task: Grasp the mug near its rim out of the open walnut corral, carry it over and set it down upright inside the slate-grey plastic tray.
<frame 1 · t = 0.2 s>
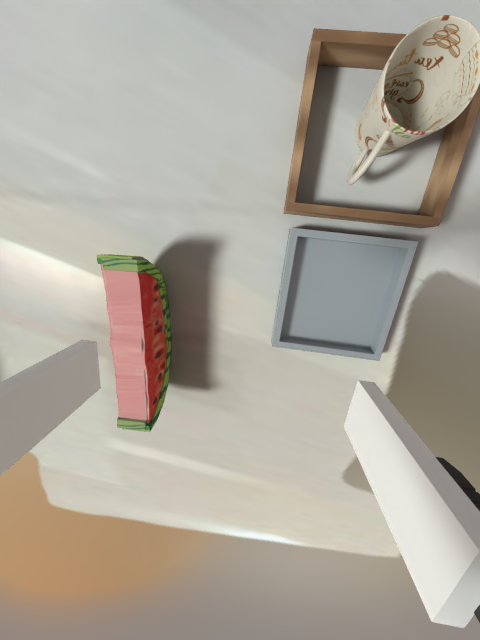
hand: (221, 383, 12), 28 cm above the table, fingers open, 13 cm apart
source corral: (368, 147, 31), on the table
fruit slice: (156, 329, 42), on the table
mug: (368, 147, 31), resting in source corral
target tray: (333, 295, 37), on the table
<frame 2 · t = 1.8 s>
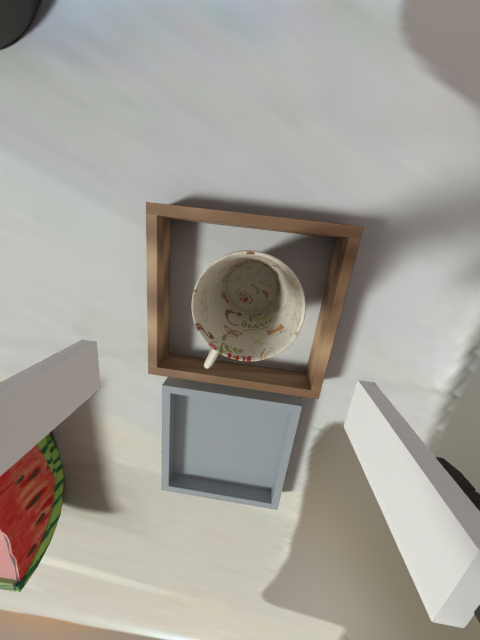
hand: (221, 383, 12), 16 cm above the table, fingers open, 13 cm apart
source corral: (243, 302, 27), on the table
fruit slice: (46, 456, 38), on the table
mug: (243, 301, 27), resting in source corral
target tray: (227, 437, 33), on the table
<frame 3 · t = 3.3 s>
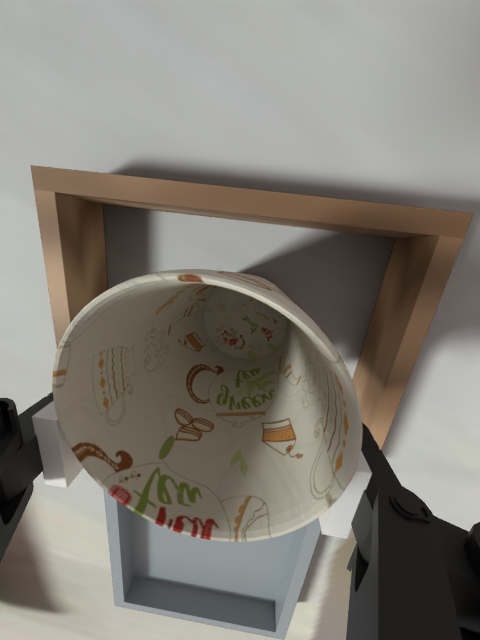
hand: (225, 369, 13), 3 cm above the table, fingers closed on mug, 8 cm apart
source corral: (231, 343, 16), on the table
mug: (231, 343, 16), resting in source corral, touching gripper
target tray: (210, 532, 23), on the table
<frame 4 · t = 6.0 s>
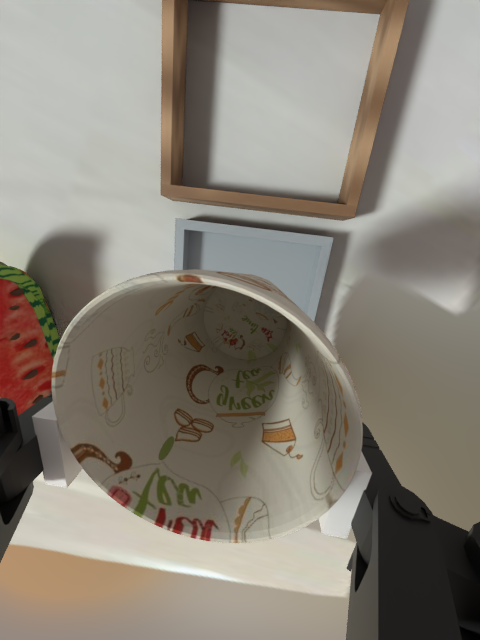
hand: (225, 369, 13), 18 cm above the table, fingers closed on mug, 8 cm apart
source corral: (268, 114, 24), on the table
fruit slice: (44, 341, 35), on the table
mug: (231, 343, 16), point 14 cm above the table, touching gripper
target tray: (244, 303, 30), on the table
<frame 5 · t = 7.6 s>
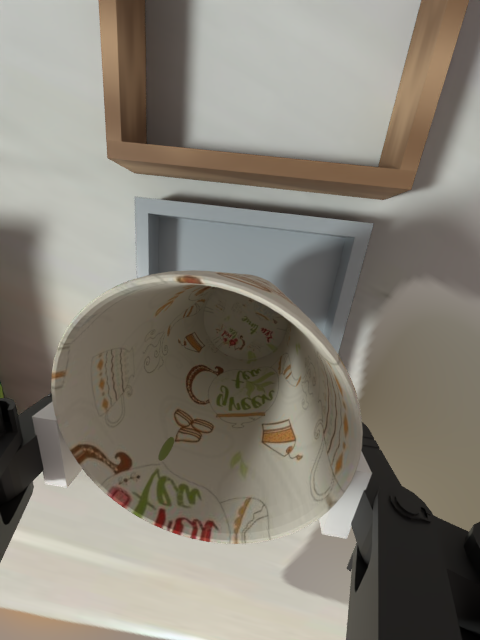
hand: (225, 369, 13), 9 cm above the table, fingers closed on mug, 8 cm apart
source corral: (274, 32, 15), on the table
mug: (231, 344, 16), point 6 cm above the table, touching gripper
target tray: (239, 319, 22), on the table
when the fingers open (5 cm above the table, at t = 8.8 s): mug drops 2 cm, resting on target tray.
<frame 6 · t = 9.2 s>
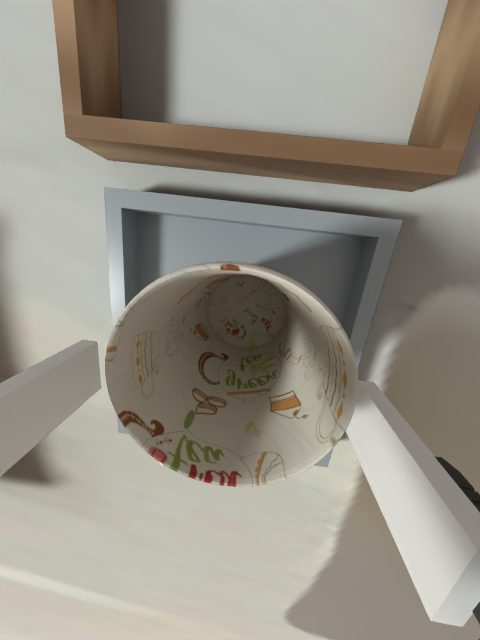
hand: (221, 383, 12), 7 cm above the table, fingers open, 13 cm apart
mug: (232, 334, 18), resting on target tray
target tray: (235, 334, 18), on the table
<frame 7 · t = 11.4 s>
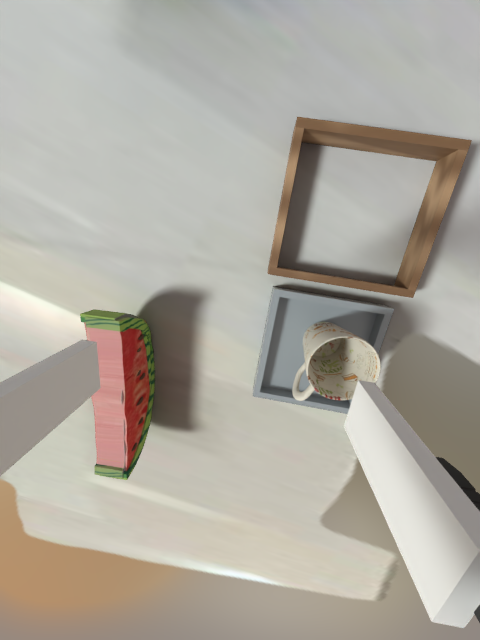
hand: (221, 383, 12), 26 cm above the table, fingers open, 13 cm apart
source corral: (349, 218, 32), on the table
fruit slice: (140, 371, 42), on the table
mug: (313, 349, 38), resting on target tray
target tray: (314, 349, 38), on the table
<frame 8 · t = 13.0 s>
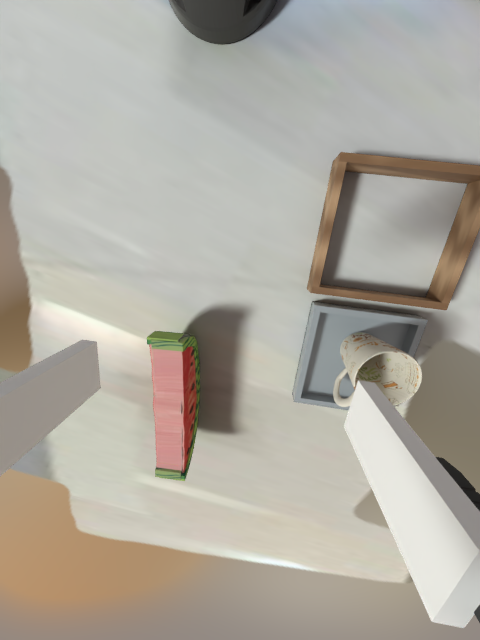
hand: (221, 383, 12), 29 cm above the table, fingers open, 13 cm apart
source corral: (384, 237, 35), on the table
fruit slice: (186, 381, 46), on the table
mug: (349, 357, 41), resting on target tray
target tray: (349, 357, 41), on the table
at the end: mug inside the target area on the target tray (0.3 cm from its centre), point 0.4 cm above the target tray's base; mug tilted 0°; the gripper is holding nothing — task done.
